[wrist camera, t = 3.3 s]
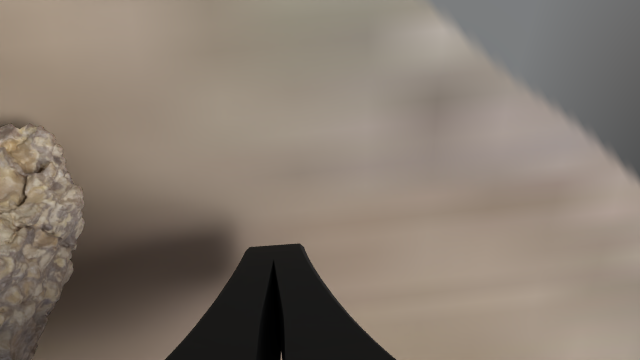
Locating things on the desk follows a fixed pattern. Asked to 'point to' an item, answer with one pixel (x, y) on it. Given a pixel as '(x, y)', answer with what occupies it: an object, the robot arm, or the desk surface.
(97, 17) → the desk surface
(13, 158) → the rough beige rock
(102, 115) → the desk surface
